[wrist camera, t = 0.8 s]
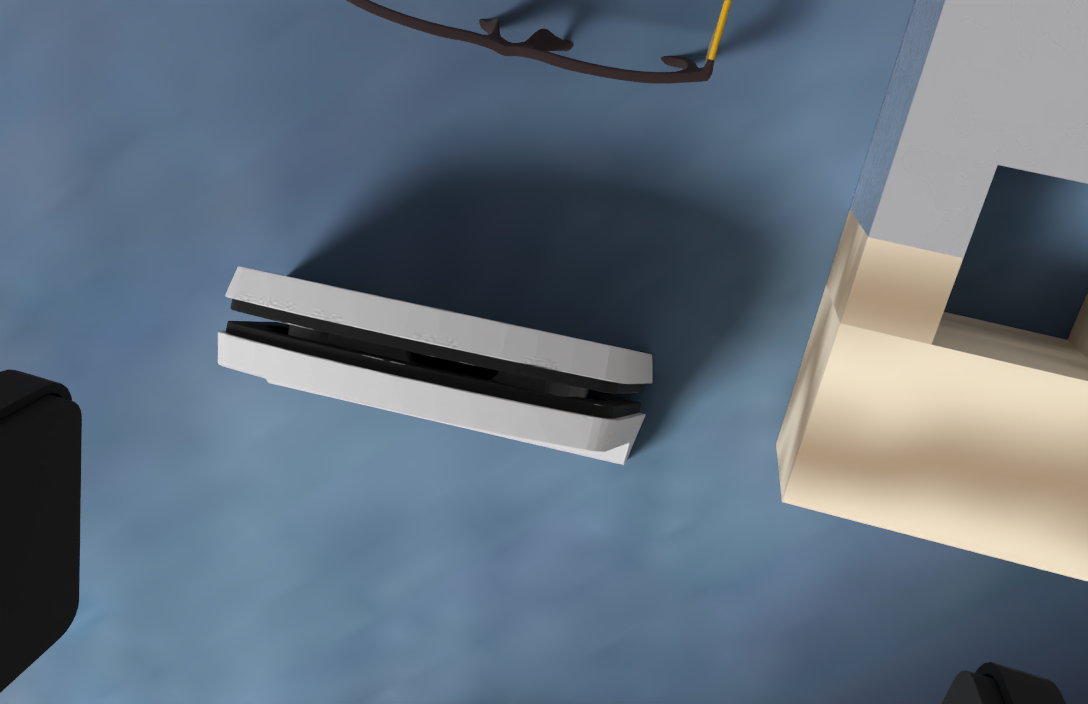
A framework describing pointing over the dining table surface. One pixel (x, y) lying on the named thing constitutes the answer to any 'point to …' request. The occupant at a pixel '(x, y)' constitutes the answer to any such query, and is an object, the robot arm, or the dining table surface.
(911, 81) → the gray notched block
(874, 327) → the notched wooden block
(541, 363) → the white black arched block
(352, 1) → the eyeglasses
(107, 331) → the dining table surface
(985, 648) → the dining table surface
